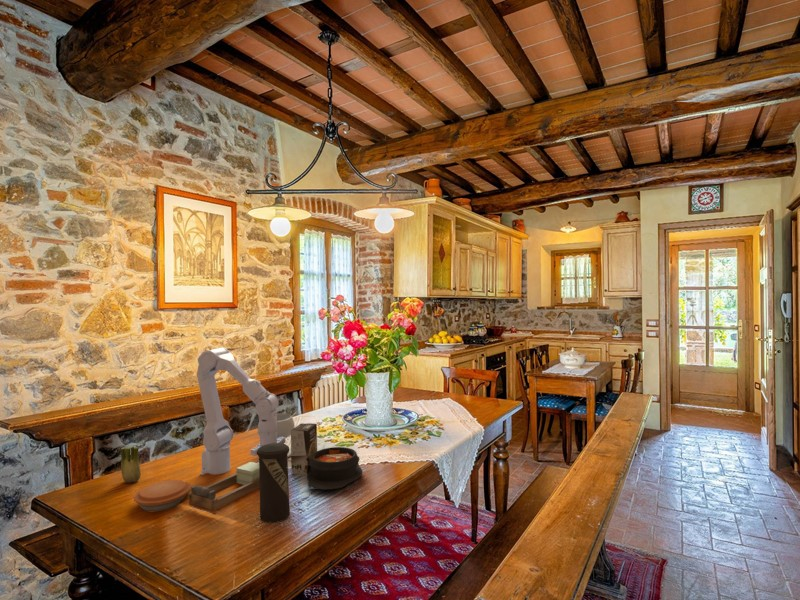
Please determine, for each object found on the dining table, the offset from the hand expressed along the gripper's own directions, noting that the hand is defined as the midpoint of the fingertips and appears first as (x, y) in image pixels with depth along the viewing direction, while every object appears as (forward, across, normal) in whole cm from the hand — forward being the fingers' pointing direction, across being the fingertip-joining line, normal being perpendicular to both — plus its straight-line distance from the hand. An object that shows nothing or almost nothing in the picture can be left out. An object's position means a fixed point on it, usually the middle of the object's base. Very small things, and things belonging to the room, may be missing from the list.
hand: (269, 469), depth 154 cm
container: (+2, -20, -22) cm, 30 cm away
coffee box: (+2, +8, -9) cm, 12 cm away
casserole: (+2, +8, -22) cm, 24 cm away
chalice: (+2, +16, +12) cm, 20 cm away
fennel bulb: (+2, -24, +40) cm, 47 cm away
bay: (+2, -15, 0) cm, 15 cm away
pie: (+3, -29, +15) cm, 33 cm away
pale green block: (+1, -8, 0) cm, 8 cm away
